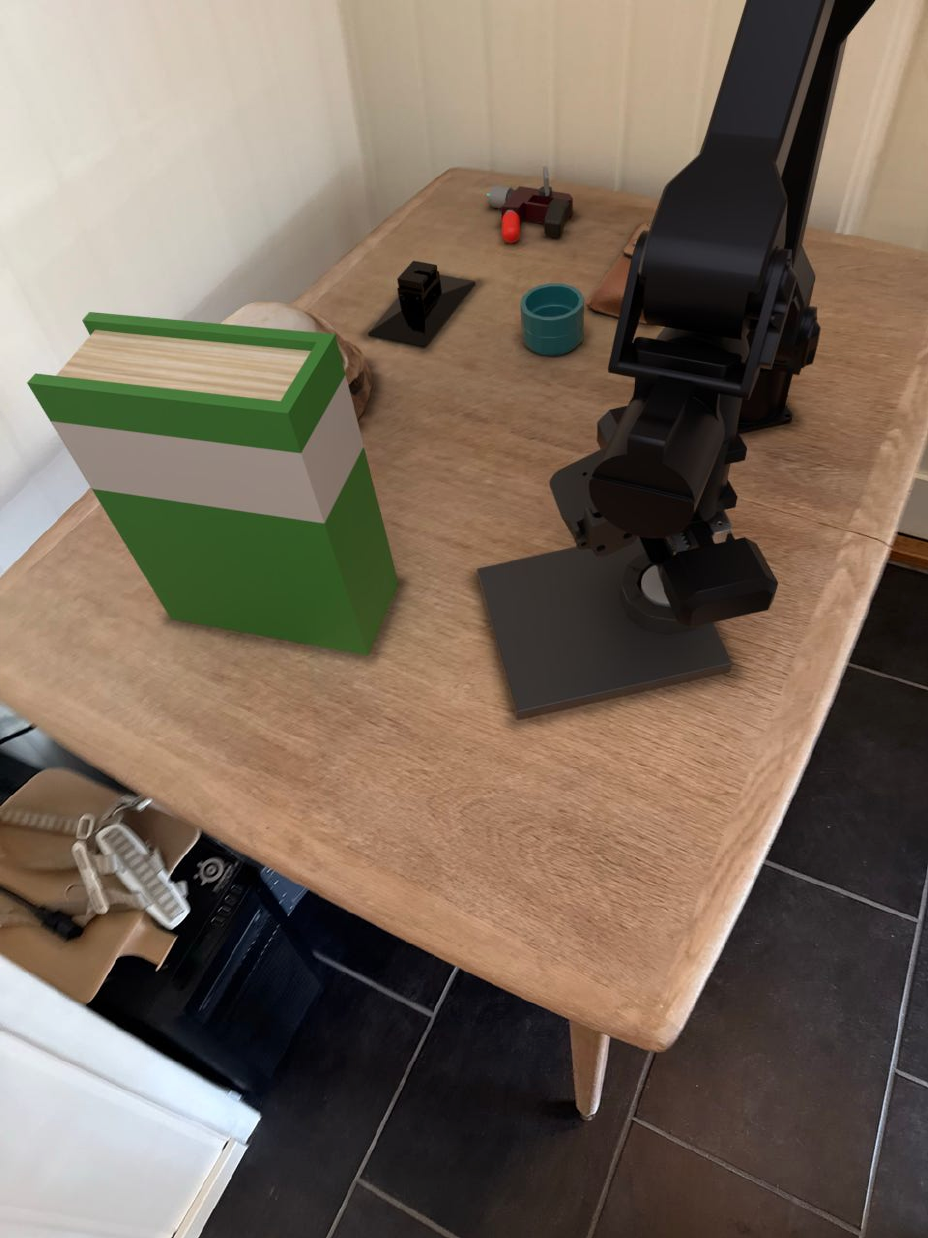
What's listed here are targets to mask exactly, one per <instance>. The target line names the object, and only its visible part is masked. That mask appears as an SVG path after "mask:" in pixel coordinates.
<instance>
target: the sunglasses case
mask: <svg viewBox="0 0 928 1238" xmlns="http://www.w3.org/2000/svg"><path fill="white" fill-rule="evenodd" d="M652 221H653V220H651V221H648V222H645V223H641V224H640V225H639V226H638V227H637V228H636V230H635V231H634V233H633V234H632V235H631V237H630V239H629V240H628V242H627V243H626V245H625V246H624V247H623V250H622V251H621V252H620V254H619V255H618V257H617V258H616V260H615V261H614V263H613V264H612V265H611V267H610V268H609V269H608V270H607V272H606V273H605V275H604V277H603V278H602V279H601V280H600V282H599V284H598V285H597V286H596V287H595V289H594V290H593V292H592V293H591V294H590V296H589V298H588V300H587V302H586V306H587V307H588V308H589V309H590V310H592V311H594V312H598V313H601V314H603V315H605V316H609V317H612V318H616V319H619V314H620V310H621V305H622V300H623V296H624V291H625V286H626V282H627V277H628V272H629V268H630V263H631V259H632V255H633V251H634V248H635V245H636V242H637V240H638V238H639V236H640V234H641V233H642V231H643V230H648V231H649V229H650V226H651V224H652ZM638 324H643V325H648V324H647V323H646V321H645V320H644V312H643V310H642V313H641V316H640V320H639V323H638Z"/></svg>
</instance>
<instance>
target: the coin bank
mask: <svg viewBox="0 0 928 1238" xmlns="http://www.w3.org/2000/svg"><path fill="white" fill-rule="evenodd" d="M219 324H228V325H239V326H250V327H261V328H272V329H283V330H294V331H305V332H316V333H327V334H335V335H336V339H337V343H338V347H339V351H340V355H341V359H342V363H343V367H344V370H345V374H346V378H347V382H348V386H349V390H350V394H351V398H352V402H353V406H354V410H355V414H356V418H357V421H358V420H359V418H360V417H362V415H363V413H364V412H365V409H366V407H367V404H368V401H369V399H370V396H371V390H372V389H373V378H372V375H371V370H370V367H369V364H368V363H367V361H365V358H364V355H363V352H362V351H361V349H360V348H359V347H358V346H356V345H355V344H354V343H352V342H350V341H346V340H345V339H344V338H343V337H342V336H341V335H340V333H338V331H337V330H336V329H335V328H334V327H333V326H332V325H331V324H330V323H329V322H328V321H327V320H325V319H323V318H322V317H320V316H319V315H317V314H316V313H314V312H309V311H305V310H303V309H301V308H300V307H297V306H295V305H292V304H290V303H289V304H288V303H284V302H280V301H279V302H278V301H254V302H253V301H252V302H250V303H247V304H245V305H243V306H242V307H240V308H239V309H237V310H236V311H235V312H234V313H232V314H231V315H229V316H228V317H226V318H225V319H224V320H223V321H221V322H220V323H219Z"/></svg>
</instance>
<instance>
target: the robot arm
mask: <svg viewBox="0 0 928 1238" xmlns="http://www.w3.org/2000/svg"><path fill="white" fill-rule="evenodd" d="M875 2H876V0H745V3H744V7H743V10H742V13H741V17H740V20H739V24H738V26H737V29H736V32H735V37H734V40H733V43H732V46H731V50H730V53H729V56H728V59H727V62H726V66H725V69H724V73H723V76H722V79H721V83H720V86H719V89H718V92H717V95H716V100H715V103H714V106H713V109H712V112H711V115H710V119H709V123H708V126H707V129H706V132H705V136H704V139H703V141H702V144H701V147H700V150H699V152H698V155H696V156H695V157H694V158H693V159H692V160H691V161H690V162H689V163H688V164H686V166H685V167H684V168H682V169H681V170H679V172H678V173H677V174H675V176H673V177H672V179H670V181H668V182H667V183H666V185H665V186H664V188H663V190H662V193H661V196H660V198H659V201H658V204H657V207H656V210H655V212H654V215H653V218H652V220H651V221H652V224H651V226H650V229H649V231H648V230H643V231H642V233H641V234H640V236H639V238H638V240H637V242H636V245H635V248H634V251H633V255H632V259H631V263H630V268H629V272H628V277H627V282H626V286H625V291H624V296H623V300H622V305H621V310H620V314H619V318H617V324H616V329H615V333H614V338H613V342H612V347H611V352H610V357H609V361H608V364H607V365H608V366H607V372H608V374H614V375H619V376H622V377H623V376H624V377H628V378H634V387H633V394H632V397H631V399H630V401H629V402H628V404H627V405H624V406H619V407H615V408H611V409H608V411H607V412H606V413H605V414H604V415H603V416H601V418H600V419H599V420H598V421H597V423H596V424H597V425H596V430H597V431H596V442H597V445H598V447H599V450H597V451H594V452H592V453H590V454H588V455H586V456H584V457H582V458H580V459H579V460H576V461H574V462H572V463H570V464H569V465H566V466H564V467H562V468H560V469H558V470H557V471H555V472H553V474H552V475H551V476H550V479H549V488H550V492H551V493H552V496H553V498H554V502H555V504H556V507H557V509H558V513H559V515H560V517H561V519H562V520H563V522H564V525H565V526H566V527H567V529H568V531H569V532H570V534H571V536H572V538H573V540H574V543H575V545H576V546H575V547H577V548H578V549H580V550H583V549H592V551H593V552H594V554H595V555H596V556H602V557H604V556H607V555H609V554H612V553H614V552H616V551H618V550H620V549H622V548H624V547H627V546H629V545H631V544H633V543H634V542H635V540H636V539H637V537H638V536H639V539H640V541H641V543H642V545H643V548H644V550H645V552H646V554H647V557H648V559H649V561H650V562H651V563H652V564H653V565H655V566H657V569H658V573H659V577H660V580H661V582H662V584H663V588H664V593H665V595H666V597H667V599H668V602H669V604H670V606H671V608H672V611H673V613H674V615H675V617H676V619H677V622H678V623H680V624H682V625H684V626H687V627H689V628H691V627H695V626H700V625H704V624H708V623H713V624H714V623H717V622H721V621H726V620H730V619H735V618H738V617H744V616H748V615H753V614H757V613H762V612H765V611H769V610H770V608H771V606H772V605H773V602H774V600H775V596H776V594H777V593H776V592H777V590H778V586H779V581H778V579H777V577H776V576H775V574H774V573H773V571H772V568H771V567H770V565H769V562H768V561H767V560H766V558H765V556H764V555H763V552H762V550H761V549H760V547H759V545H758V544H757V543H756V542H755V541H753V540H751V539H749V538H748V537H745V536H744V537H739V538H735V536H734V535H733V533H732V532H733V530H734V525H733V523H732V522H731V520H730V518H729V516H728V514H727V512H726V510H731V509H734V508H736V506H737V503H738V495H737V493H736V490H734V488H733V486H732V484H731V482H730V480H729V474H730V469H731V465H732V464H735V463H740V462H744V461H746V456H747V451H748V447H747V445H746V443H745V442H744V440H743V438H742V437H741V436H740V434H744V433H747V432H748V433H749V432H752V431H757V430H761V429H766V428H771V427H775V426H779V425H780V426H781V425H784V424H789V423H792V421H793V417H794V415H793V413H792V412H791V410H790V408H789V407H788V406H787V402H788V401H787V400H788V397H789V393H790V388H791V384H792V379H793V375H794V376H800V375H801V371H802V370H803V369H805V368H806V366H807V367H808V366H810V365H813V364H814V361H815V357H816V354H817V350H818V345H819V341H820V335H821V329H822V327H821V325H820V324H819V322H818V307H817V306H813V305H810V304H811V300H812V295H813V292H814V288H815V283H816V273H815V271H814V270H813V267H812V264H811V262H810V260H809V258H808V255H807V253H806V251H805V248H804V246H803V243H804V237H805V232H806V228H807V223H808V219H809V216H810V210H811V205H812V201H813V196H814V192H815V187H816V182H817V179H818V173H819V168H820V164H821V160H822V156H823V151H824V146H825V142H826V138H827V132H828V128H829V123H830V118H831V115H832V109H833V105H834V100H835V95H836V91H837V87H838V86H837V85H838V83H839V77H840V73H841V69H842V65H843V64H842V63H843V61H844V55H845V51H846V45H847V43H848V42H847V41H848V37H849V35H850V34H851V33H852V31H853V30H854V29H855V27H856V26H857V25H858V24H859V23H860V21H861V20H862V19H863V17H865V15H866V14H867V13H868V11H869V10H870V8H871V7H873V5H874V4H875ZM642 310H643V312H644V320H645V321H646V323H647V324H646V325H650V326H657V327H663V328H662V329H661V331H659V333H658V334H657V336H656V338H651V337H646V336H637V337H635V336H636V332H637V329H638V327H639V324H640V323H639V320H640V316H641V313H642Z"/></svg>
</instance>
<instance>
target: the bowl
mask: <svg viewBox="0 0 928 1238" xmlns="http://www.w3.org/2000/svg"><path fill="white" fill-rule="evenodd" d="M520 319H521V320H520V321H521V322H520V324H521V339H522V342H523V344H524V346H526V347H527V348H528V349H529V350H531V351H532V352H533V353H535V354H538V355H540V356H545V357H557V356H561V355H566V354H567V353H569V352H572V351H574V349H575V348H577V347H578V346H579V345H580V344H581V343H582V342H583V340H584V336H585V297H584V295H583V293H582V291H581V290H579V289H578V288H576V287H575V286H573V285H570V284H567V283H563V282H559V283H557V282H550V283H544V284H540V285H536V286H534V287H533V288H531V289H528V290H527V292H525V293H524V295H522V297H521V300H520Z"/></svg>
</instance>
